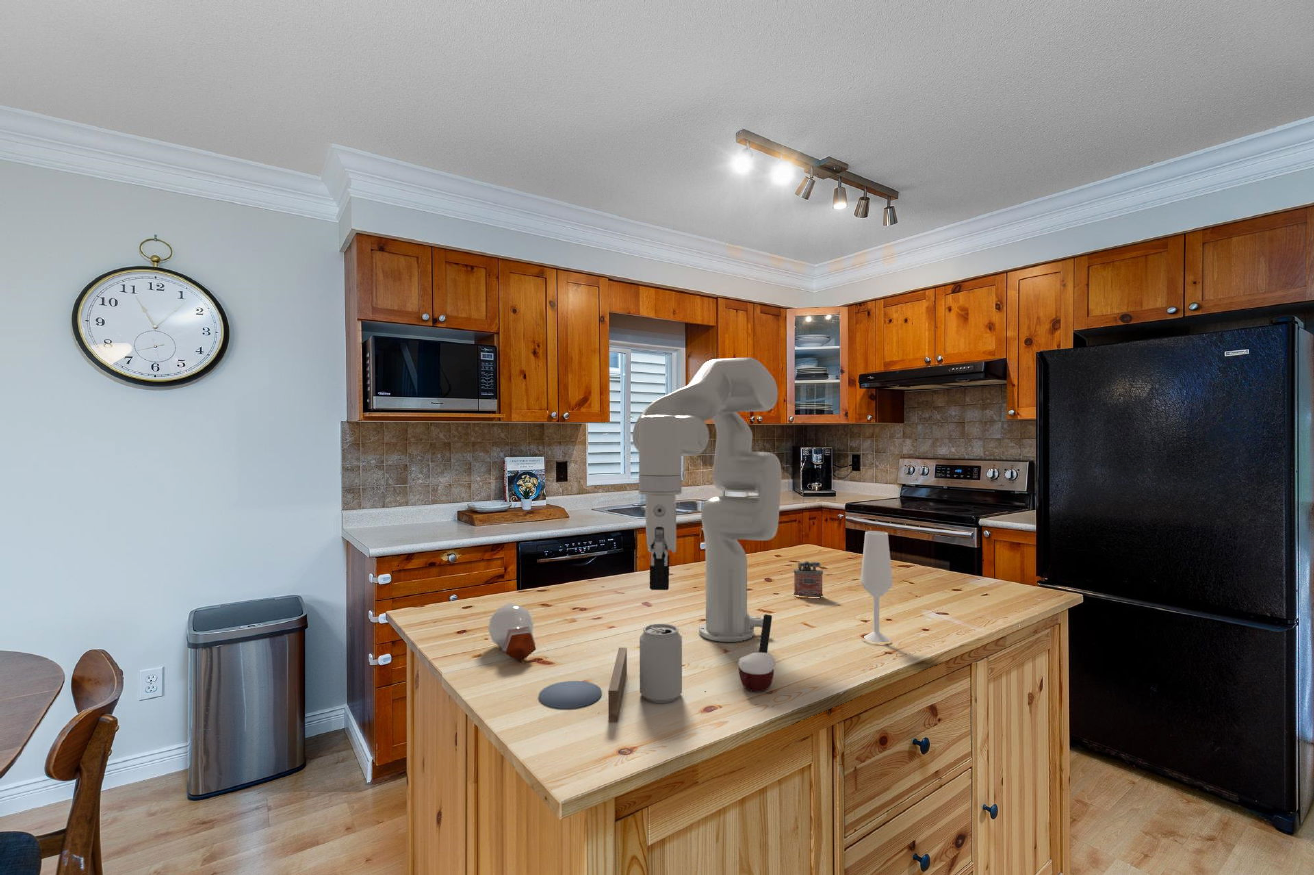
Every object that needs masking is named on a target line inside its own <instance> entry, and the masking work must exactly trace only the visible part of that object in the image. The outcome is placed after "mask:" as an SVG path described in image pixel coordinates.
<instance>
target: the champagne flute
mask: <svg viewBox="0 0 1314 875" xmlns="http://www.w3.org/2000/svg"><path fill="white" fill-rule="evenodd" d="M863 542H864V543H863V552H862V562H861V572H860V573H861V574H860V584H861V585H862V587H863V588H864V590H865V591H866V592H867V593H868V594H869V595H870V596H872V597H873V631H872V632H869V633H868V634H866V635H864V638H865V639H866V640H870V641H872V642H889V640H891V639H890V638H889V637H887V636H886V635H884V633H881V631H880V598H881V597H883V596H884V595H885V594H886V593H887V592H889V590H890V589H891V588H892V586H893V584H894V583H893V574H892V564H891V563H892V562H891V553H890V552H891V551H890V543H889V542H890V541H889V533H888V532H886V531H880V530H876V531H875V530H869V531H865V533H864V541H863Z"/></svg>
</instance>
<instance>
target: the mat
mask: <svg viewBox="0 0 1314 875" xmlns="http://www.w3.org/2000/svg"><path fill="white" fill-rule="evenodd" d="M602 692H603V691H602V688H600V686H598V685H597V684H595V683H593V682H588V681H582V680H566V681H560V682H556V683H552V684H549V685H548V686H546V687H544V688H542V689H541V691H539V694H538V700H539V701H541V702H542V703H541V704H543V705H544V706H546V705H547V707H549V708H553V707H554V709H564V710H566V709H567V710H570V709H578V708H583V707H587V706H590V705H592V704H594V703H596V702H598V701H599V700H600V698H601V697H602V695H603V693H602Z"/></svg>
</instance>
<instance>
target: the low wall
mask: <svg viewBox="0 0 1314 875" xmlns="http://www.w3.org/2000/svg"><path fill="white" fill-rule="evenodd" d="M627 653H628V648H627V647H618V651H617V654H616V659H615V661H614V662H615V663H614V666H613V671H612V674H611V678H610V683H609V687H608V699H607V700H608V715H607V716H608V721H607V722H610V723H612V721H614V722H613V723H615V722H616V723H617V722H619V718H620V712H621V707H622V702H623V696H624V690H625V685H626V680H627V675H628V657H627V656H628V654H627Z"/></svg>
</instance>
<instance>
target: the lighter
mask: <svg viewBox="0 0 1314 875" xmlns="http://www.w3.org/2000/svg"><path fill="white" fill-rule="evenodd" d="M797 566H798V568H794V569H793V574H794V575H793V576H794V578H793V579H794V580H793V581H794V584H793V588H794V592H793V596H794V595H799V596H810V597H821V596H823V597H824V594H823V574H824V570H822V569H817V568H821V562H820V561H811V562H810V561H809V560H805V561H804V562H803V561H797Z"/></svg>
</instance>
